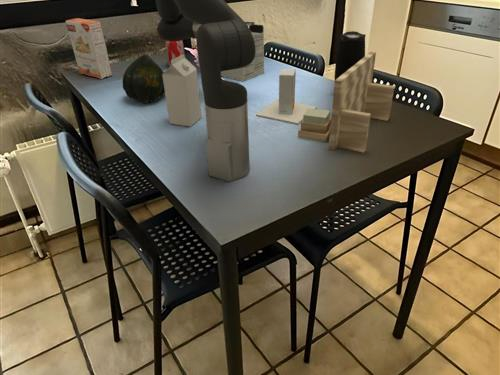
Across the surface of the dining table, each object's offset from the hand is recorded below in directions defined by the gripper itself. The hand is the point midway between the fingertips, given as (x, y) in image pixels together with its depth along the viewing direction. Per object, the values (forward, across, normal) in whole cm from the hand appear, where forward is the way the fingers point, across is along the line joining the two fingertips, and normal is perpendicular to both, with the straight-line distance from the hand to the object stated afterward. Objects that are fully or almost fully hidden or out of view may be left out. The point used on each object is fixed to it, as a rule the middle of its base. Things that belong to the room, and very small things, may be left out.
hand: (255, 31), depth 116 cm
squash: (-37, -12, +22) cm, 45 cm away
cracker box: (-75, -2, +22) cm, 78 cm away
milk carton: (-13, -20, +23) cm, 33 cm away
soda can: (-53, +22, +22) cm, 61 cm away
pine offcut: (+25, -10, +24) cm, 36 cm away
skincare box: (+10, 0, +23) cm, 25 cm away
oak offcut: (+25, -10, +21) cm, 34 cm away
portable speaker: (+21, +23, +23) cm, 39 cm away
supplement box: (-23, +26, +22) cm, 41 cm away
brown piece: (+35, -2, +23) cm, 42 cm away
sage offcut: (+25, -10, +19) cm, 33 cm away
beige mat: (+10, 0, +23) cm, 25 cm away
